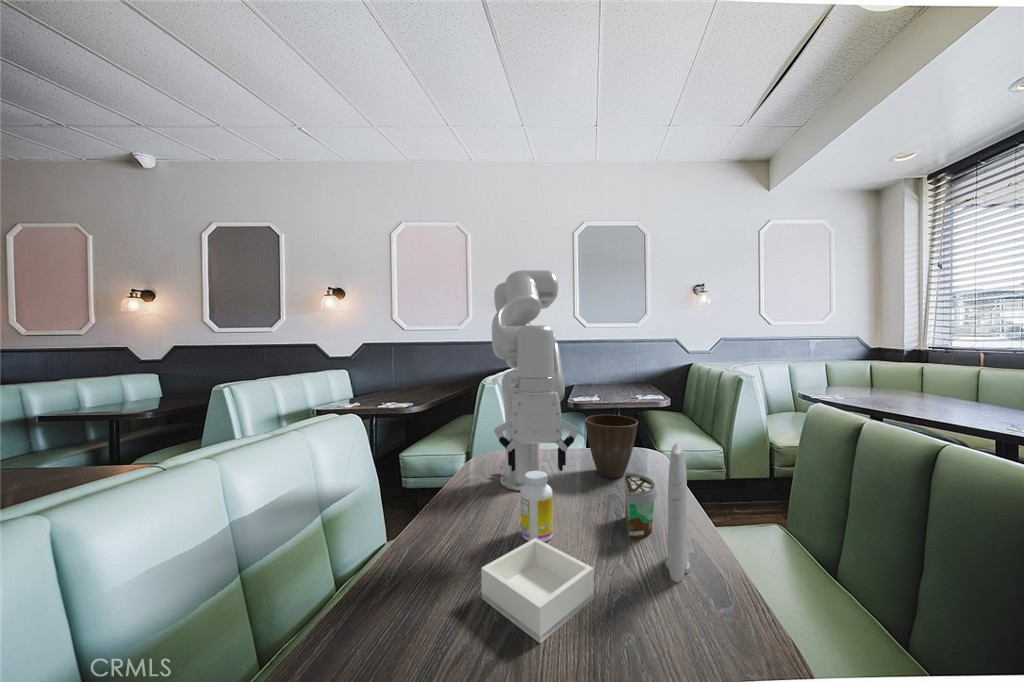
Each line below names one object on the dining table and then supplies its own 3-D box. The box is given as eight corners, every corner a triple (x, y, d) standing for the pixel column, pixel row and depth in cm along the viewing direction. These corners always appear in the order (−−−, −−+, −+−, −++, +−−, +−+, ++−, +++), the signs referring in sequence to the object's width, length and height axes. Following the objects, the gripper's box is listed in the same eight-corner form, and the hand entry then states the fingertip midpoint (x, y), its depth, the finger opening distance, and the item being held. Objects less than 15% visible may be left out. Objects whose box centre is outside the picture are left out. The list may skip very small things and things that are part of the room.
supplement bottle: (556, 530, 83) (555, 470, 83) (548, 546, 77) (548, 482, 77) (526, 525, 86) (525, 467, 85) (516, 541, 79) (516, 478, 79)
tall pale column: (668, 549, 76) (668, 436, 75) (691, 554, 74) (691, 439, 73) (661, 580, 66) (662, 452, 66) (688, 587, 64) (688, 455, 64)
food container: (662, 545, 77) (662, 495, 77) (630, 542, 78) (630, 493, 78) (653, 516, 89) (653, 473, 89) (625, 514, 90) (624, 471, 90)
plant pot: (620, 462, 125) (620, 413, 124) (648, 480, 110) (648, 423, 110) (577, 467, 121) (576, 416, 120) (600, 486, 106) (600, 428, 106)
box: (481, 598, 62) (481, 567, 62) (535, 564, 71) (535, 537, 71) (540, 643, 53) (539, 607, 53) (593, 598, 62) (593, 568, 62)
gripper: (492, 388, 77) (493, 475, 77) (580, 387, 76) (581, 475, 76) (494, 384, 84) (495, 463, 84) (575, 383, 84) (576, 462, 84)
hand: (536, 468), depth 80 cm, fingers open, 9 cm apart
